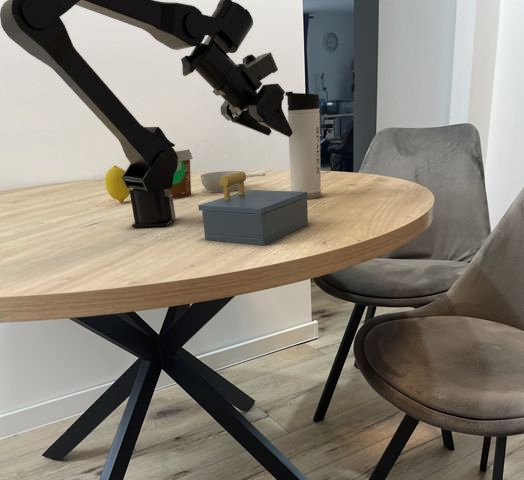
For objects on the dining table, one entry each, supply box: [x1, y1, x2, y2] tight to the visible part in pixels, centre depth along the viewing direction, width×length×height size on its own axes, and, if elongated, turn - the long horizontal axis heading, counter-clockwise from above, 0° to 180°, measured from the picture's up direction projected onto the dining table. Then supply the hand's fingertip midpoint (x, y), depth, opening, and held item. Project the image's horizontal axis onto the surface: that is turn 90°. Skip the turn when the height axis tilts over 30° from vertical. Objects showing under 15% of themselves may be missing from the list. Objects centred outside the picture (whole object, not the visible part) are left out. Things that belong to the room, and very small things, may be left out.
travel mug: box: [284, 91, 322, 200], centre depth 103 cm, size 6×7×20 cm
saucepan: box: [199, 170, 267, 193], centre depth 122 cm, size 11×18×4 cm, turn 54°
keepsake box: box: [201, 197, 309, 246], centre depth 81 cm, size 11×14×4 cm
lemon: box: [104, 165, 132, 203], centre depth 115 cm, size 6×6×8 cm
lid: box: [197, 171, 307, 214], centre depth 79 cm, size 11×14×4 cm
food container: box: [169, 149, 193, 200], centre depth 116 cm, size 12×6×10 cm, turn 76°
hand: (280, 134), depth 100 cm, fingers open, 9 cm apart
